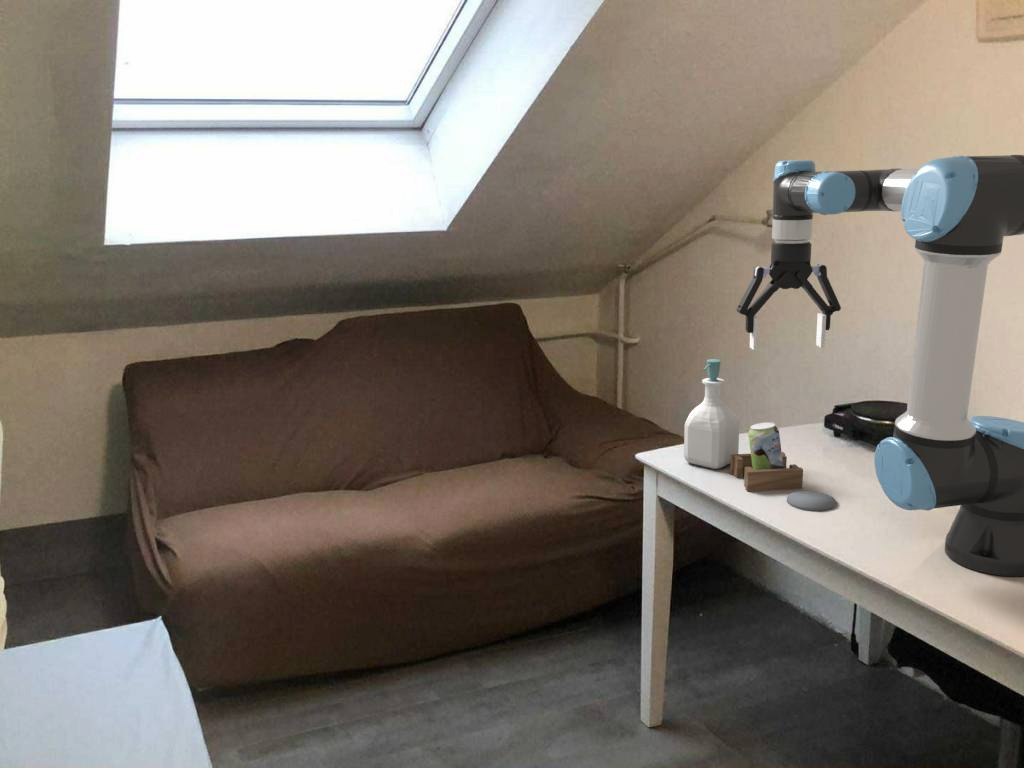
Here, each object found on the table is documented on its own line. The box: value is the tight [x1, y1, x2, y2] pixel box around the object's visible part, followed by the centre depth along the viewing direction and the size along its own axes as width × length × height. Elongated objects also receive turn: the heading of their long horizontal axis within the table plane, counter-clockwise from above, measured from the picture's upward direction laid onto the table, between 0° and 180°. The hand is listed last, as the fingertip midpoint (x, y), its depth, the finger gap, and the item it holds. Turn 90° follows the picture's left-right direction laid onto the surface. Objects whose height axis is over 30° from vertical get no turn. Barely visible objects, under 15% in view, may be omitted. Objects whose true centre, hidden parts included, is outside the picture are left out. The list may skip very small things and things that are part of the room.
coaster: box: [786, 490, 837, 512], centre depth 184 cm, size 9×9×1 cm
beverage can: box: [748, 421, 783, 470], centre depth 194 cm, size 6×7×12 cm
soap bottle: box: [683, 358, 740, 470], centre depth 205 cm, size 10×10×23 cm
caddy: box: [729, 451, 804, 492], centre depth 195 cm, size 11×11×4 cm
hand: (786, 347), depth 193 cm, fingers open, 13 cm apart
